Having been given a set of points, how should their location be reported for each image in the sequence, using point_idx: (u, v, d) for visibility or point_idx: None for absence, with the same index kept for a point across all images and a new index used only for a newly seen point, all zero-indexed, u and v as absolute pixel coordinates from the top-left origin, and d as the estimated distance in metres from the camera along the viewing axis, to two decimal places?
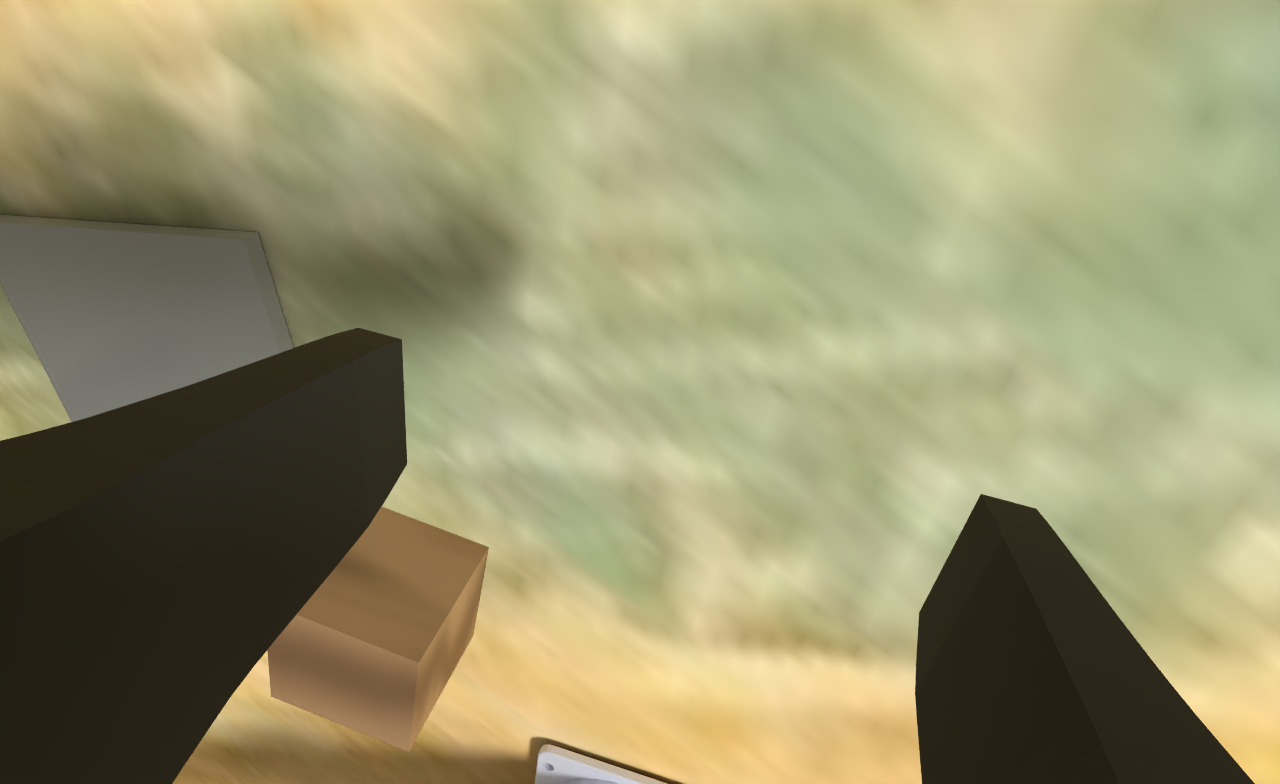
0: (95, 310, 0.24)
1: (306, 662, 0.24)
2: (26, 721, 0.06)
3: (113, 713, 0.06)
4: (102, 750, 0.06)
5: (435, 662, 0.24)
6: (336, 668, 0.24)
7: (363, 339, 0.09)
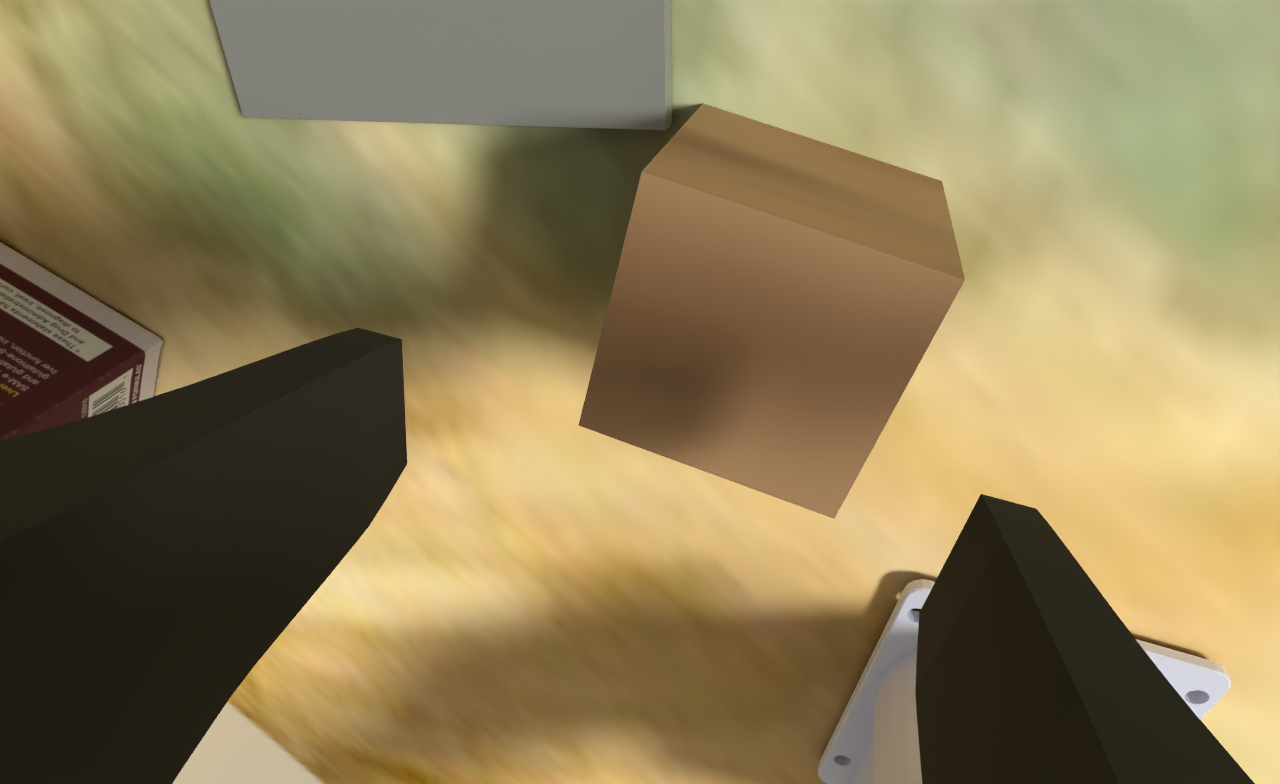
0: None
1: (686, 324, 0.13)
2: (25, 721, 0.06)
3: (113, 713, 0.06)
4: (102, 750, 0.06)
5: None
6: (752, 330, 0.12)
7: (363, 340, 0.09)
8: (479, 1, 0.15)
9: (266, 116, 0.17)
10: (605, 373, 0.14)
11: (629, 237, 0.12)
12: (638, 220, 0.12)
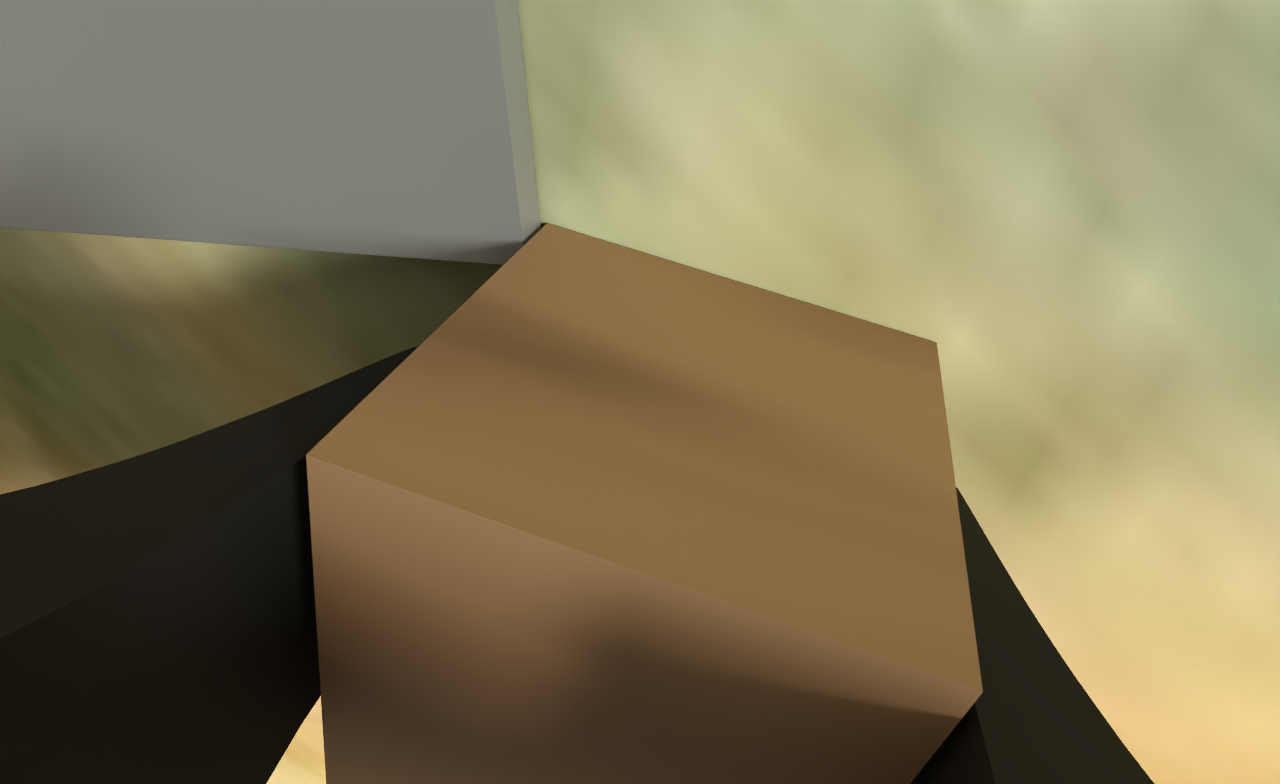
0: None
1: (455, 692, 0.07)
2: (127, 758, 0.06)
3: (202, 745, 0.06)
4: (191, 783, 0.06)
5: None
6: (572, 714, 0.06)
7: None
8: (208, 57, 0.09)
9: None
10: (345, 738, 0.08)
11: (317, 558, 0.06)
12: (326, 532, 0.06)
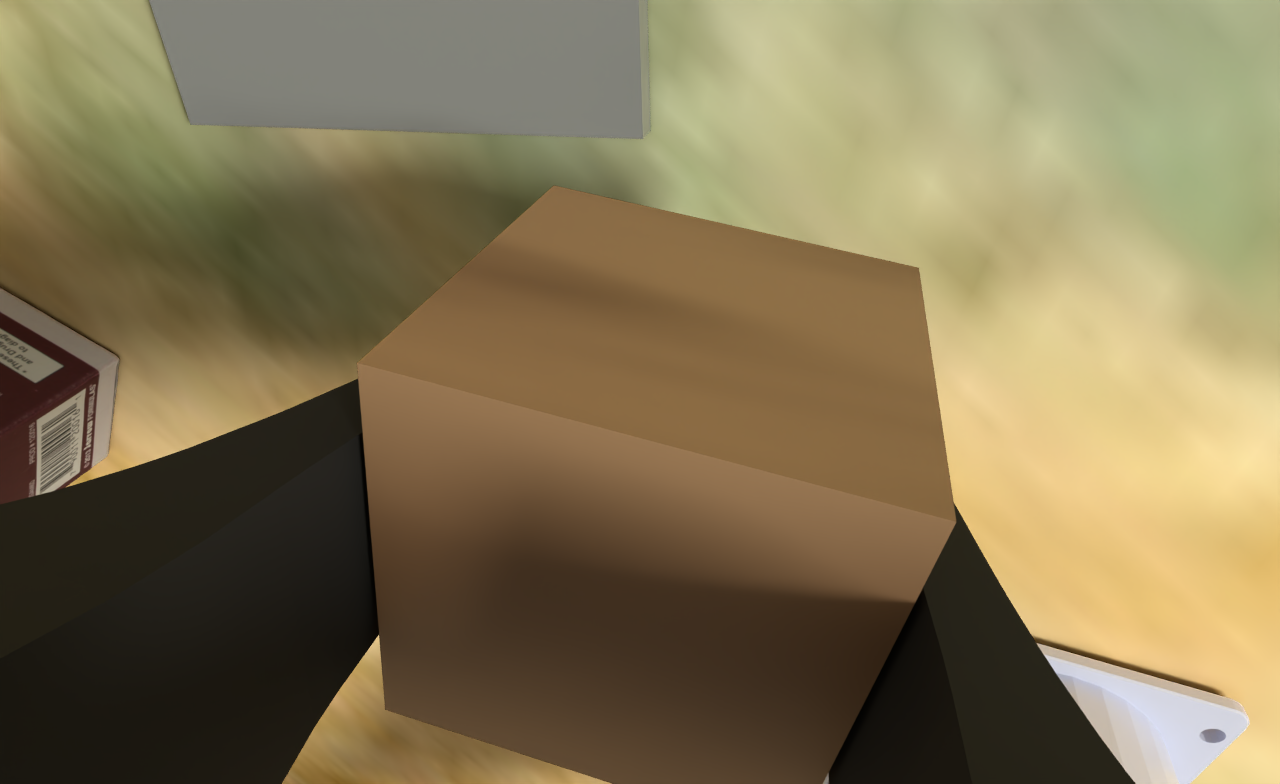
0: None
1: (497, 584, 0.08)
2: (144, 764, 0.05)
3: (217, 750, 0.06)
4: None
5: None
6: (601, 595, 0.07)
7: None
8: None
9: (215, 123, 0.16)
10: (400, 646, 0.09)
11: (370, 463, 0.07)
12: (376, 437, 0.07)
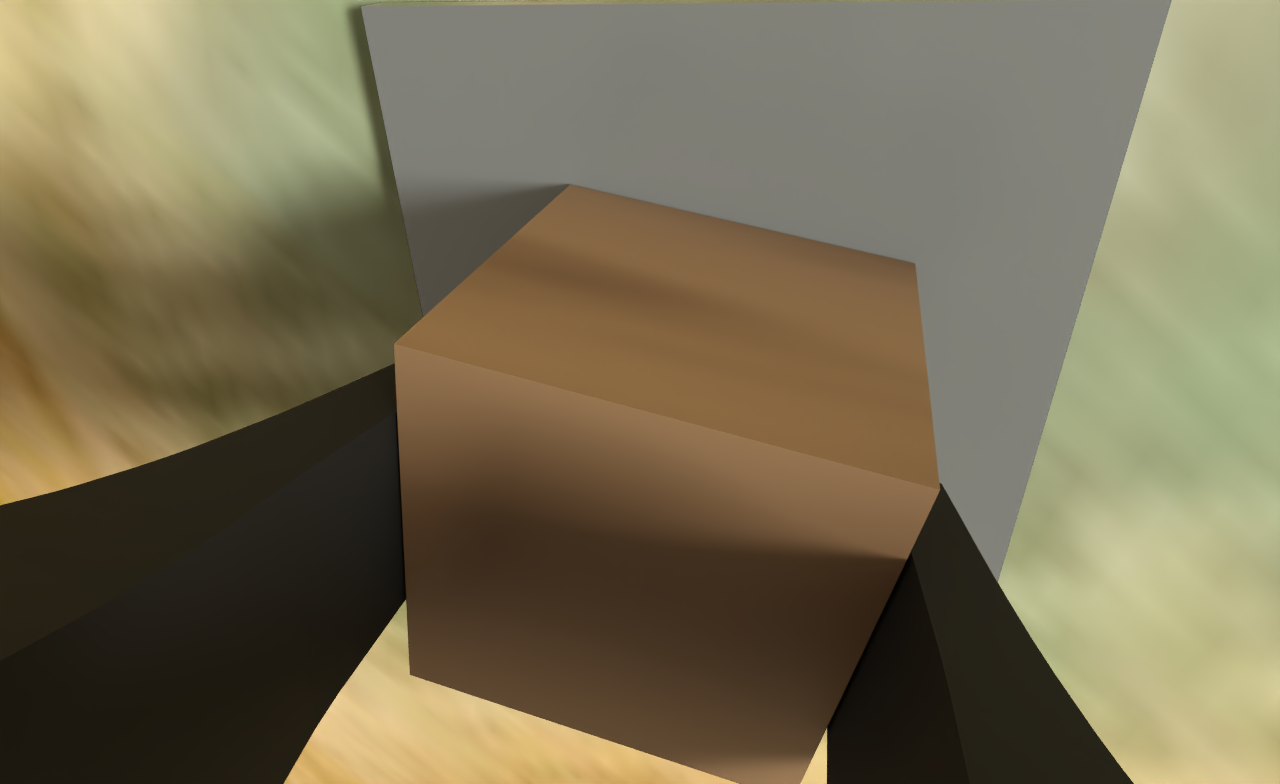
0: None
1: (517, 552, 0.08)
2: (146, 765, 0.05)
3: (219, 751, 0.06)
4: None
5: None
6: (616, 561, 0.08)
7: None
8: None
9: None
10: (425, 612, 0.09)
11: (403, 437, 0.08)
12: (410, 413, 0.07)
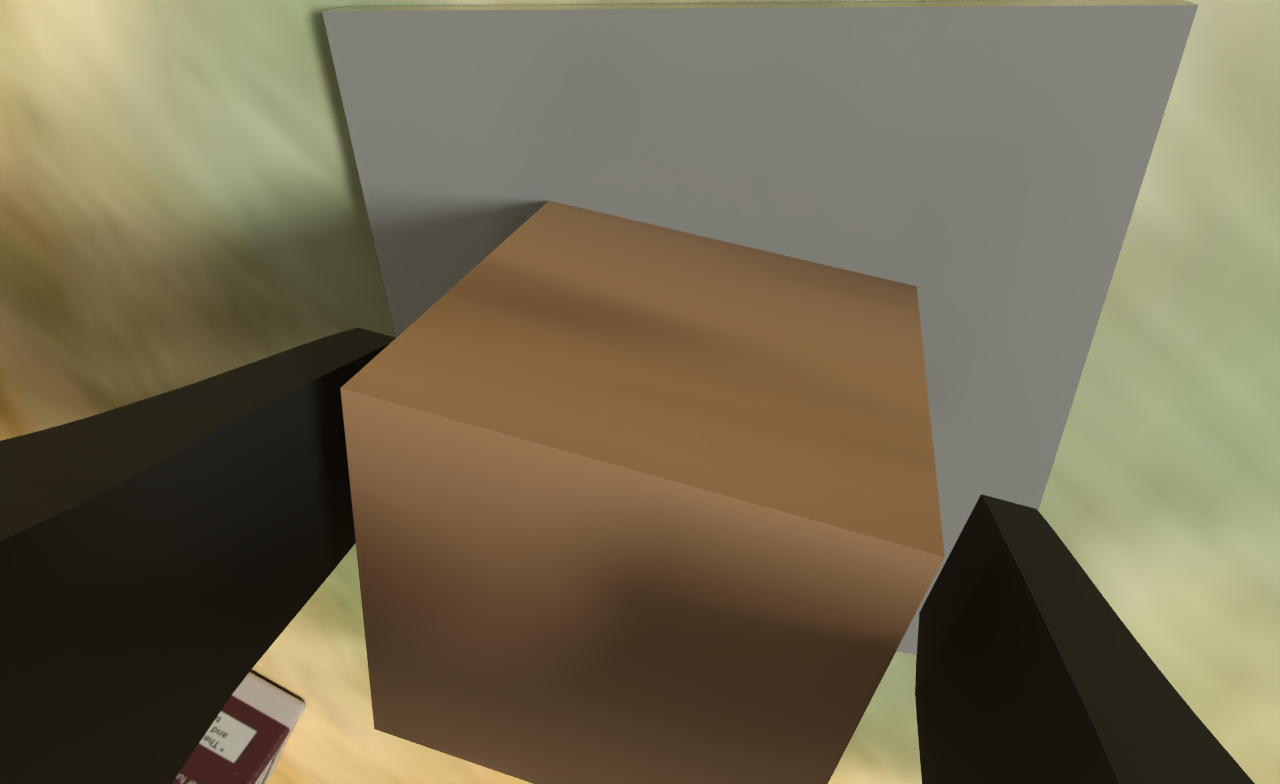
0: None
1: (482, 608, 0.07)
2: (26, 721, 0.06)
3: (113, 713, 0.06)
4: (102, 750, 0.06)
5: None
6: (588, 621, 0.07)
7: (363, 339, 0.09)
8: None
9: None
10: (388, 667, 0.08)
11: (355, 487, 0.07)
12: (361, 461, 0.07)
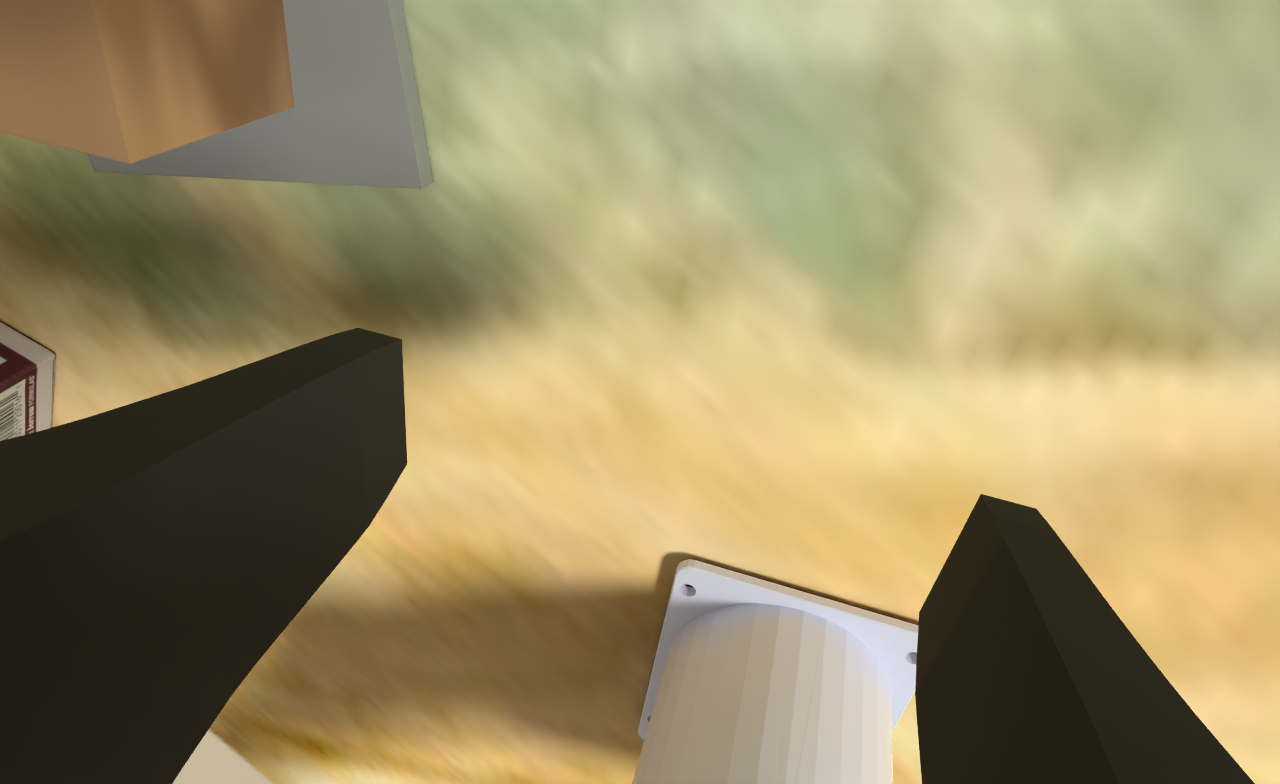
0: None
1: None
2: (26, 721, 0.06)
3: (113, 713, 0.06)
4: (102, 750, 0.06)
5: None
6: None
7: (363, 340, 0.09)
8: None
9: (112, 171, 0.21)
10: None
11: None
12: None
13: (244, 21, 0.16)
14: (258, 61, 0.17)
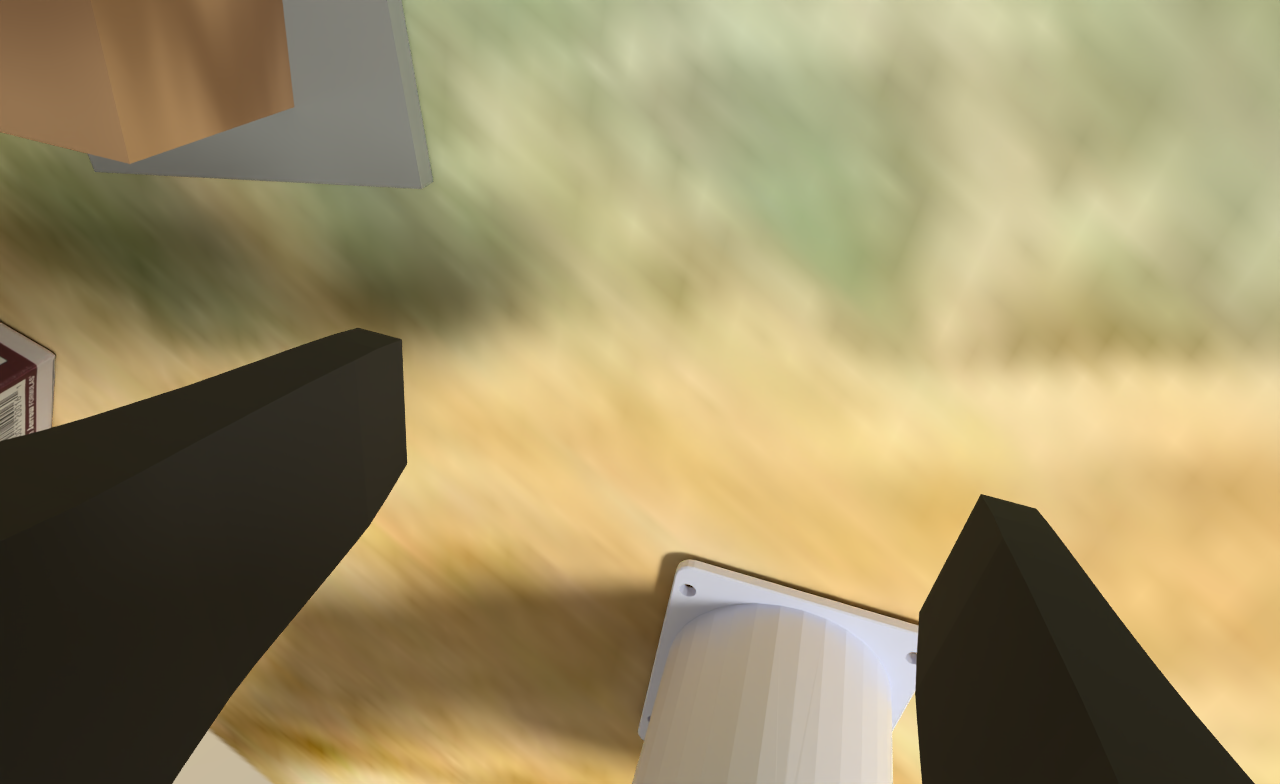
0: None
1: None
2: (26, 721, 0.06)
3: (113, 713, 0.06)
4: (102, 750, 0.06)
5: None
6: None
7: (363, 340, 0.09)
8: None
9: (112, 171, 0.21)
10: None
11: None
12: None
13: (244, 21, 0.16)
14: (258, 61, 0.17)
